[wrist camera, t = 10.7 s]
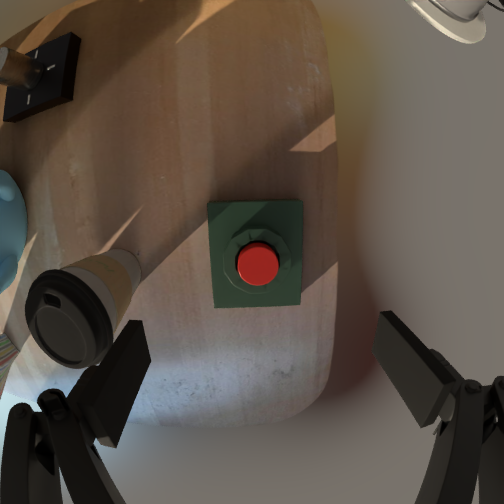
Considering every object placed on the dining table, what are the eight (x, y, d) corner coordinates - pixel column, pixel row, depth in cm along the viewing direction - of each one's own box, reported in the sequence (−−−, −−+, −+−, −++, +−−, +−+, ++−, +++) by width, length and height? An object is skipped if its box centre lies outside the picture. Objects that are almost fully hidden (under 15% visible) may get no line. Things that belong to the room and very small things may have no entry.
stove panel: (81, 38, 23) (70, 31, 20) (72, 100, 26) (59, 95, 23) (23, 65, 23) (11, 61, 20) (15, 122, 26) (2, 121, 23)
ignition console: (299, 198, 31) (307, 202, 27) (296, 297, 34) (303, 312, 30) (209, 201, 31) (204, 204, 27) (215, 300, 34) (212, 315, 30)
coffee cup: (136, 223, 31) (67, 262, 16) (166, 294, 33) (125, 369, 19) (79, 249, 31) (5, 293, 17) (109, 312, 34) (55, 379, 19)
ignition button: (276, 241, 28) (279, 246, 27) (276, 278, 29) (278, 284, 28) (237, 242, 28) (236, 247, 27) (238, 280, 29) (238, 286, 28)
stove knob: (24, 68, 21) (-12, 55, 13) (46, 57, 21) (9, 40, 13) (20, 95, 22) (-20, 86, 14) (41, 84, 22) (1, 72, 14)
